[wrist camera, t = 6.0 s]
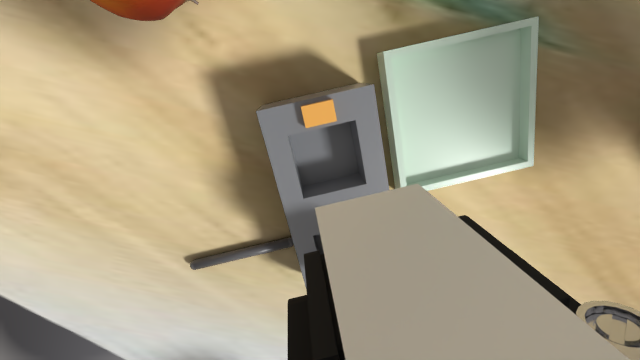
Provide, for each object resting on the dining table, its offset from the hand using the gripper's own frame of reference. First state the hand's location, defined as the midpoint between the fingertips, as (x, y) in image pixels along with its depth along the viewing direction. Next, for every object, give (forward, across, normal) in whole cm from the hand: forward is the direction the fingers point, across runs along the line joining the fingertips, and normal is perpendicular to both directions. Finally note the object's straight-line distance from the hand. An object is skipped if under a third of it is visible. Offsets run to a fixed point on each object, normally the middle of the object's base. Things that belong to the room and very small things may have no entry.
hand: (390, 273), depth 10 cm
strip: (+20, +6, +5) cm, 21 cm away
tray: (+20, -13, 0) cm, 23 cm away
